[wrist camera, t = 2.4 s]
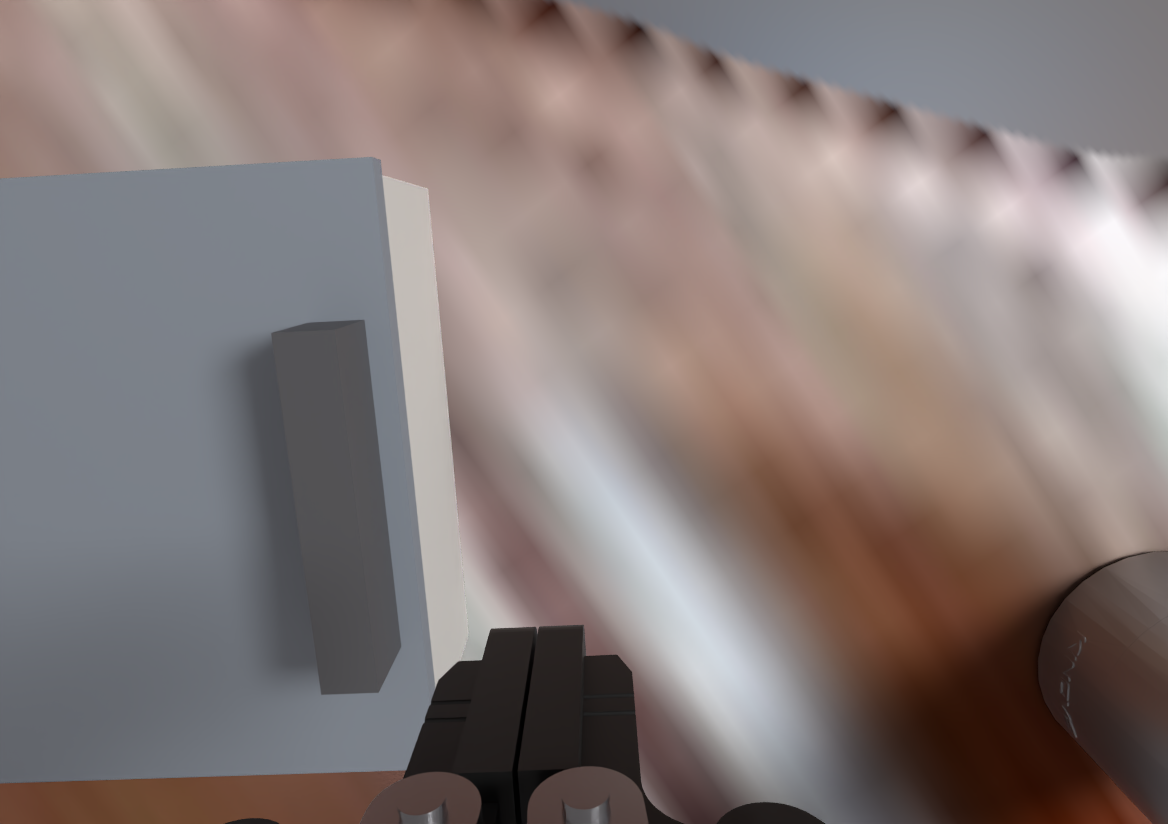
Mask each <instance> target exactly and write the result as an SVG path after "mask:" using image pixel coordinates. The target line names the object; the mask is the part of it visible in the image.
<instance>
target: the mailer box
mask: <svg viewBox="0 0 1168 824" xmlns="http://www.w3.org/2000/svg"><path fill="white" fill-rule="evenodd" d="M382 178H383V188H384V198H385V207H386V217H387V227H388V236H389V246H390V255H391V265H392V275H393V284H394V294H395V304H396V313H397V323H398V333H399V342H400V352H401V362H402V371H403V381H404V390H405V400H406V410H407V419H408V429H409V439H410V448H411V458H412V468H413V477H414V487H415V497H416V506H417V516H418V525H419V535H420V545H421V554H422V564H423V574H424V583H425V593H426V603H427V612H428V622H429V632H430V641H431V651H432V660H433V670H434V680H435V688H436V685H437V683H438V680H439V679H440V678H441V677H442V676H443V675H444V674H445V673H446V672H447V671H448V670H449V669H450V668H452V667H453V666H454V665H455V664H456V663H457V662H458V661H461V658H462V655H463V652H464V649H465V646H466V643H467V640H468V637H469V629H468V618H467V607H466V597H465V586H464V575H463V564H462V553H461V542H460V531H459V520H458V510H457V499H456V488H455V477H454V466H453V455H452V444H451V433H450V423H449V412H448V401H447V390H446V379H445V368H444V357H443V347H442V336H441V325H440V314H439V303H438V292H437V281H436V270H435V260H434V249H433V238H432V227H431V216H430V205H429V194H428V188H424V187H421V186H417V185H414V184H411V183H407V182H404V181H400V180H397V179H394V178H390V177H387V176H383V175H382Z"/></svg>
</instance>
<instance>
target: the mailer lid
mask: <svg viewBox="0 0 1168 824" xmlns="http://www.w3.org/2000/svg"><path fill="white" fill-rule="evenodd" d="M434 691H435V680H434V670H433V660H432V651H431V641H430V632H429V622H428V612H427V603H426V593H425V583H424V574H423V564H422V554H421V545H420V535H419V525H418V516H417V506H416V497H415V487H414V477H413V468H412V458H411V448H410V439H409V429H408V419H407V410H406V400H405V390H404V381H403V371H402V362H401V352H400V342H399V333H398V323H397V313H396V304H395V294H394V284H393V275H392V265H391V255H390V246H389V236H388V227H387V217H386V207H385V198H384V188H383V178H382V169H381V160H379V159H376V158H374V157H364V158H347V159H330V160H312V161H295V162H278V163H261V164H244V165H226V166H209V167H192V168H175V169H157V170H140V171H123V172H106V173H88V174H71V175H54V176H37V177H19V178H2V179H0V783H24V782H55V781H86V780H117V779H148V778H179V777H210V776H241V775H272V774H304V773H335V772H366V771H397V770H406V769H407V767H408V764H409V761H410V758H411V755H412V753H413V750H414V747H415V744H416V741H417V739H418V736H419V733H420V730H421V727H422V725H423V723H425V716H426V713H427V711H428V708H429V705H431V699H432V697H433V694H434Z"/></svg>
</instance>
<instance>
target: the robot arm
mask: <svg viewBox="0 0 1168 824" xmlns="http://www.w3.org/2000/svg"><path fill="white" fill-rule="evenodd" d="M1038 678H1039V684H1040V688H1041V691H1042V695H1043V698H1044V701H1045V703H1046V705H1047V706H1048V708H1049V710H1050V711H1051V713H1052V715H1053V717H1054V718H1055V720H1056V721H1057V722H1058V723H1059V724H1060V725H1061V726H1062V727H1063V728H1064V729H1065V730H1066V731H1067V732H1068V733H1069V734H1070V736H1071V737H1072V738H1073V739H1074V740H1075V741H1076V742H1077V743H1078V744H1079V745H1080V746H1081V747H1082V748H1083V749H1084V750H1085V752H1086V753H1087V754H1088V755H1089V756H1090V757H1091V758H1092V759H1093V760H1094V761H1095V762H1096V763H1097V764H1098V765H1099V766H1100V768H1101V769H1102V770H1103V771H1104V772H1105V773H1106V774H1107V775H1108V776H1109V777H1110V778H1111V779H1112V780H1113V781H1114V782H1115V784H1116V785H1117V786H1118V787H1119V788H1120V789H1121V791H1122V792H1123V793H1124V794H1125V795H1126V796H1127V797H1128V798H1129V799H1130V800H1131V801H1132V802H1133V803H1134V804H1135V805H1136V806H1137V807H1138V809H1139V810H1140V811H1141V812H1142V813H1143V814H1144V815H1145V816H1146V817H1147V818H1148V819H1149V820H1150V821H1151V822H1152V823H1153V824H1168V552H1151V553H1146V554H1142V555H1137V556H1133V557H1128V558H1126V559H1123V560H1121V561H1118V562H1116V563H1114V564H1111V565H1109V566H1107V567H1104V568H1103V569H1101V570H1100V571H1098V572H1097V573H1095V574H1094V575H1092V576H1091V577H1089V578H1087V579H1086V580H1084V581H1083V582H1082V583H1081V584H1080V585H1079V586H1078V587H1077V588H1076V589H1075V590H1073V591H1072V592H1071V593H1070V594H1069V595H1068V596H1067V597H1066V598H1065V599H1064V601H1063V602H1062V604H1061V605H1060V606H1059V608H1058V609H1057V611H1056V612H1055V613H1054V615H1053V616H1052V618H1051V620H1050V622H1049V624H1048V627H1047V629H1046V631H1045V633H1044V636H1043V638H1042V642H1041V647H1040V652H1039V657H1038ZM225 824H279V823H277V822H274V821H272V820H268V819H261V818H250V819H241V820H236V821H232V822H228V823H225ZM360 824H683V823H681V822H678V821H676V820H674V819H672V818H670V817H668V816H666V815H665V814H663V813H662V812H661V811H659V810H658V809H657V808H656V807H655V806H654V805H653V804H652V803H651V802H650V801H649V800H648V798H647V797H646V795H645V793H644V791H643V788H642V784H641V776H640V764H639V752H638V740H637V727H636V715H635V703H634V691H633V679H632V672H631V670H630V669H629V668H628V667H627V666H626V665H625V663H624V662H623V661H622V660H621V659H620V657H619V656H618V655H600V656H586V648H585V632H584V625H567V626H543V627H539V629H538V634H537V629H536V627H522V628H498V629H491V630H490V633H489V636H488V640H487V644H486V647H485V651H484V655H483V659H482V660H479V661H458V662H457V663H456V664H455V665H454V666H453V667H452V668H450V669H449V670H448V671H447V672H446V673H445V674H444V675H443V676H442V677H441V678H440V679H439V680H438V683H437V685H436V688H435V691H434V694H433V697H432V699H431V705H429V708H428V711H427V713H426V716H425V723H423V725H422V727H421V730H420V733H419V736H418V739H417V741H416V744H415V747H414V750H413V753H412V755H411V758H410V761H409V764H408V767H407V769H406V772H405V775H404V778H403V779H402V780H400V781H398V782H396V783H394V784H392V785H390V786H389V787H387V788H386V789H384V790H383V791H382V792H381V793H380V794H378V795H377V796H376V797H375V799H374V800H373V801H372V802H371V804H370V805H369V807H368V808H367V810H366V812H365V814H364V816H363V818H362V820H361V822H360ZM717 824H825V823H824V822H822V821H821V820H819V819H817V818H816V817H814V816H813V815H811V814H809V813H807V812H805V811H803V810H801V809H798V808H796V807H792V806H789V805H785V804H779V803H770V802H760V803H751V804H746V805H743V806H740V807H737V808H735V809H733V810H731V811H729V812H728V813H726V814H725V815H724V816H723V817H722V818H721V819H720V820H719V821H718V822H717Z"/></svg>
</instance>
